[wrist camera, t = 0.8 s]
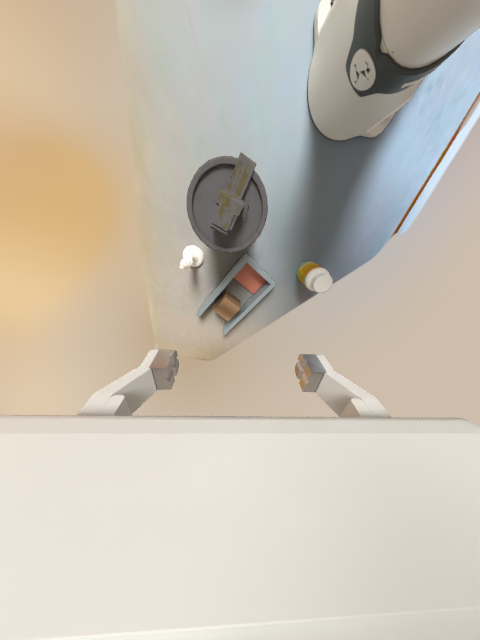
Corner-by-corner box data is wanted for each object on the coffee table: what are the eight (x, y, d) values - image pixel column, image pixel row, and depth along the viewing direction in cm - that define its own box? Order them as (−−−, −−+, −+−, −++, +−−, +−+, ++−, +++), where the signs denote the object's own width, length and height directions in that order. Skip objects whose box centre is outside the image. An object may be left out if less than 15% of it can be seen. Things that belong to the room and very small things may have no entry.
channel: (245, 252, 41) (246, 255, 37) (273, 279, 44) (276, 284, 41) (198, 308, 48) (195, 315, 45) (225, 327, 52) (225, 334, 49)
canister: (240, 247, 40) (244, 270, 23) (199, 224, 38) (169, 231, 20) (264, 198, 35) (292, 181, 18) (219, 167, 33) (201, 113, 16)
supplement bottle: (292, 269, 43) (306, 281, 35) (311, 256, 42) (330, 266, 33) (301, 285, 46) (316, 300, 37) (320, 273, 44) (340, 286, 36)
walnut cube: (226, 289, 46) (225, 297, 42) (240, 300, 48) (240, 309, 43) (215, 302, 48) (213, 310, 43) (228, 312, 50) (228, 321, 45)
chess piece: (207, 260, 42) (200, 272, 33) (191, 270, 43) (180, 283, 34) (196, 241, 39) (185, 248, 31) (178, 251, 40) (163, 260, 32)
